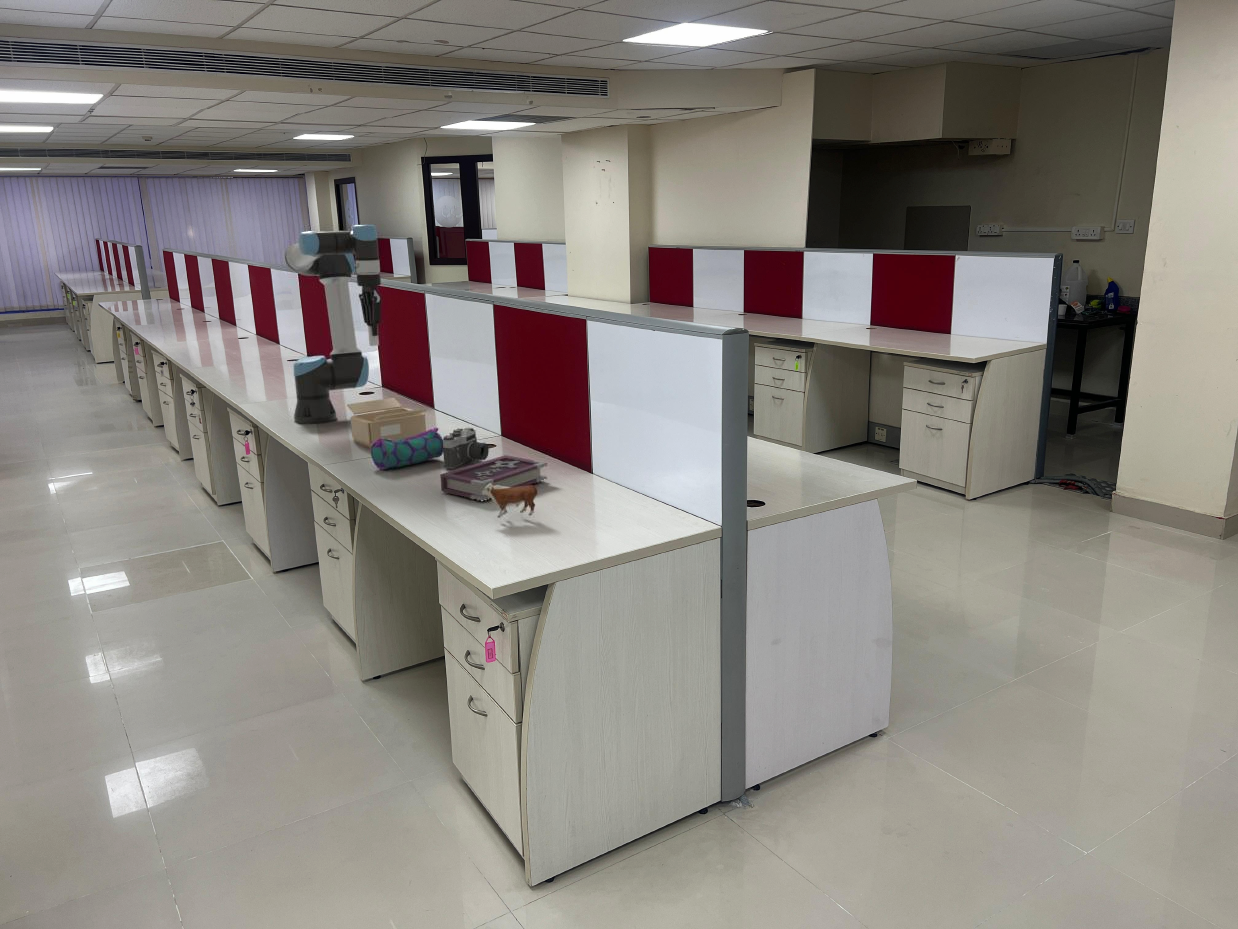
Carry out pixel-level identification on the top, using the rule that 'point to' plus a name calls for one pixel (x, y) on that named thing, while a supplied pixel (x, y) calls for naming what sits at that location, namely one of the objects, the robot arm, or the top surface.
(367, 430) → the carton
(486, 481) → the book
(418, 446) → the pencil case
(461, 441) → the camera
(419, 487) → the top surface
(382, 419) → the flap
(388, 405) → the flap
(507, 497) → the bull figurine
